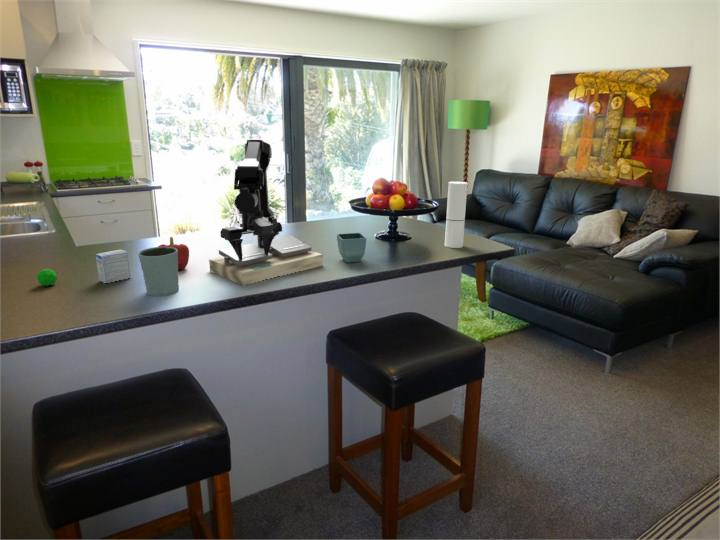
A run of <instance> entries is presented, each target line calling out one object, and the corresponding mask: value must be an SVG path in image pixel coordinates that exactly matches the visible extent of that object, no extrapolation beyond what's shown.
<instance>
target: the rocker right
mask: <svg viewBox="0 0 720 540" xmlns="http://www.w3.org/2000/svg"><path fill="white" fill-rule="evenodd" d="M303 242H304V241H302V242H301V240H299V239H298V238H296V237H294V236H292V235H286V236H280V237H274V239H273V240H272V243H271V246H270V248H272V250H273V252H274V253H276V254H278V255H279V256H281V257H287V256H291V255H296V254H300V253H305V252H309V251H312V246H310V245H309V244H307V243H305V242H304V243H303ZM262 245H263V241H262Z"/></svg>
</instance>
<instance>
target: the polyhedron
mask: <svg viewBox="0 0 720 540" xmlns="http://www.w3.org/2000/svg"><path fill="white" fill-rule="evenodd" d="M36 280H37V281H38V284H40V285H42V286H44V287H50V286H49V285H51V286H52V285H54V284H55V283H56V282H57V281H58V275H57V273H56V272H55V271H54V270H52V269H49V268H45V269H42V270H41V271H40V272H38V273H37V275H36Z"/></svg>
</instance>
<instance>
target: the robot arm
mask: <svg viewBox="0 0 720 540" xmlns="http://www.w3.org/2000/svg"><path fill="white" fill-rule="evenodd" d="M272 152H273V151H272V146H271V145H270V143H268V142H265V141H264V139H261V138H249V139H247V140H246V143H245V144H244V159H243V160H242V161H239V162H238V164H237V167H236V168H235V170H234V180H233V181H234V182H233V190H237V191H239V193H238V194H237V195H236V196H235V199H234V205H235V208H236V209H237V210H238V214H239V215H241V223H239V228H238V227H234V226H229V227H223V228H221V230H220V239H221V238H222V239H224V240H225V241H227V242H229V244H230V245H231V247H233V248H234V250H235V252H236V254H237V256H238V258H239V259H240V260H242V246H241V245H242V243H243V240H244V239H243V238H242V237H243V235H247V234H248V235H249V234H252V235H253V236H257V247H259V248H261V249H263V248H264V252H265V254H266V255H268V252H269V249H270V246H271V243H272V240H273V239H274V238H276V237H277V236H278V235H280V233H281V232H283V225H282V223H281V222H279V221H278V218H277V217H276V216H275V215H274V214H275V213H274V211H272V209H271V208H270V204H269V202H270V201H269V188H268V187H269V186H268V176H267V175H268V173H267V169H268V167H269V165H270V162H271V159H272V155H273V153H272ZM262 241H263V245H262Z"/></svg>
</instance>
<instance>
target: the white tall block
mask: <svg viewBox="0 0 720 540" xmlns="http://www.w3.org/2000/svg"><path fill="white" fill-rule="evenodd" d="M447 186H448V188H447V199H446V201H447V204H446V217H445V219H446V221H445V230H444V231H445V234H444V247H446V248H449V249H450V248H452V249H461V248H463V246H464V233H465V224H466V223H465V221H466V219H465V218H466V211H467V210H466V208H467V207H466V206H467V197H468V196H467V194H468V182H467V181H448V185H447Z"/></svg>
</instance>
